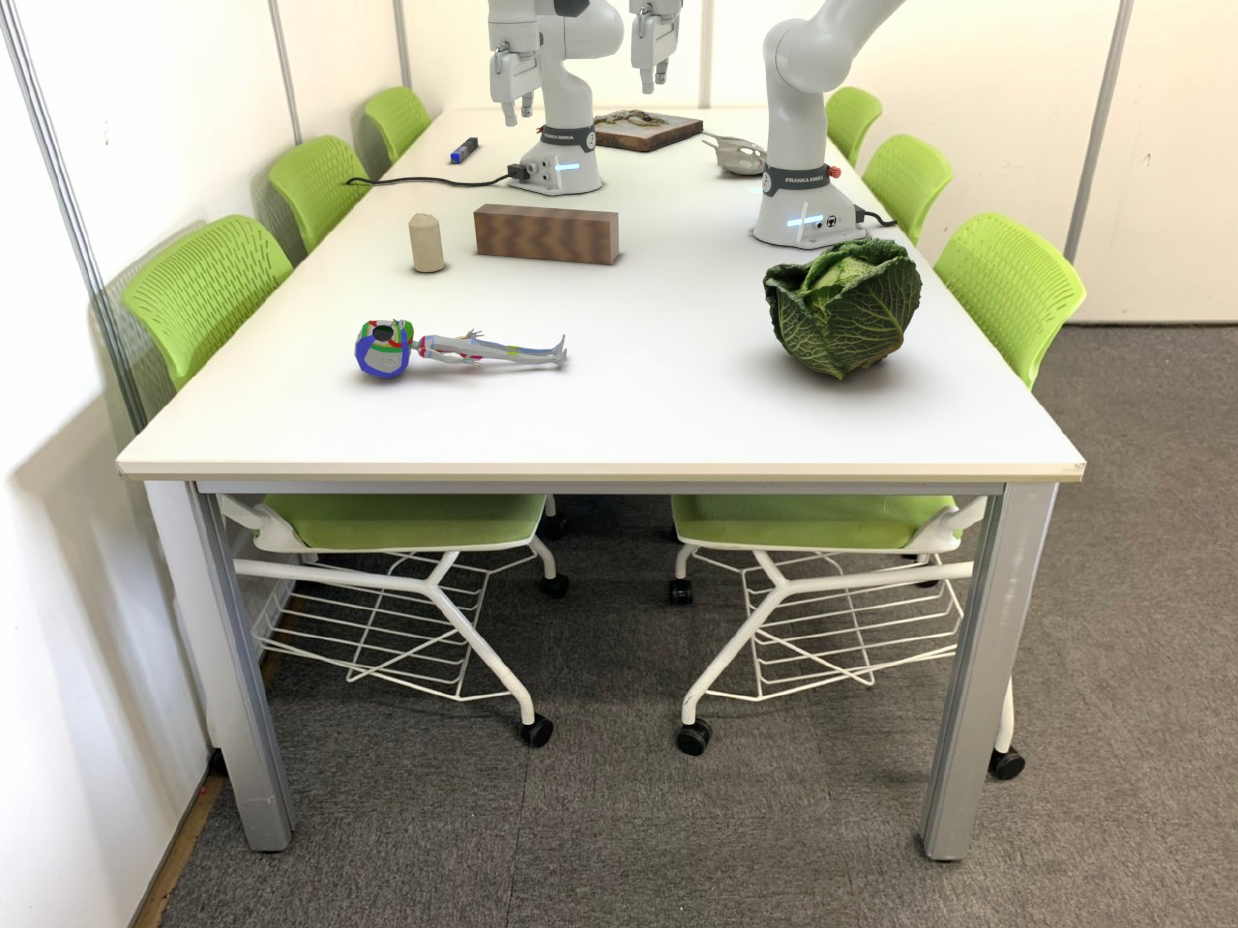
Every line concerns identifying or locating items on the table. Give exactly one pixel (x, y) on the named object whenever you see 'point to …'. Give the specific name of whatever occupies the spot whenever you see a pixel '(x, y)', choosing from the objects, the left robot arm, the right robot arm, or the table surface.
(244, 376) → the table surface
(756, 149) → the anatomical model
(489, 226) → the bar
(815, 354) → the vegetable
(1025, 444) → the table surface
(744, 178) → the table surface
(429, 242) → the candle
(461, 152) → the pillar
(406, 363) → the toy
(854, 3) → the right robot arm
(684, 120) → the plaque
